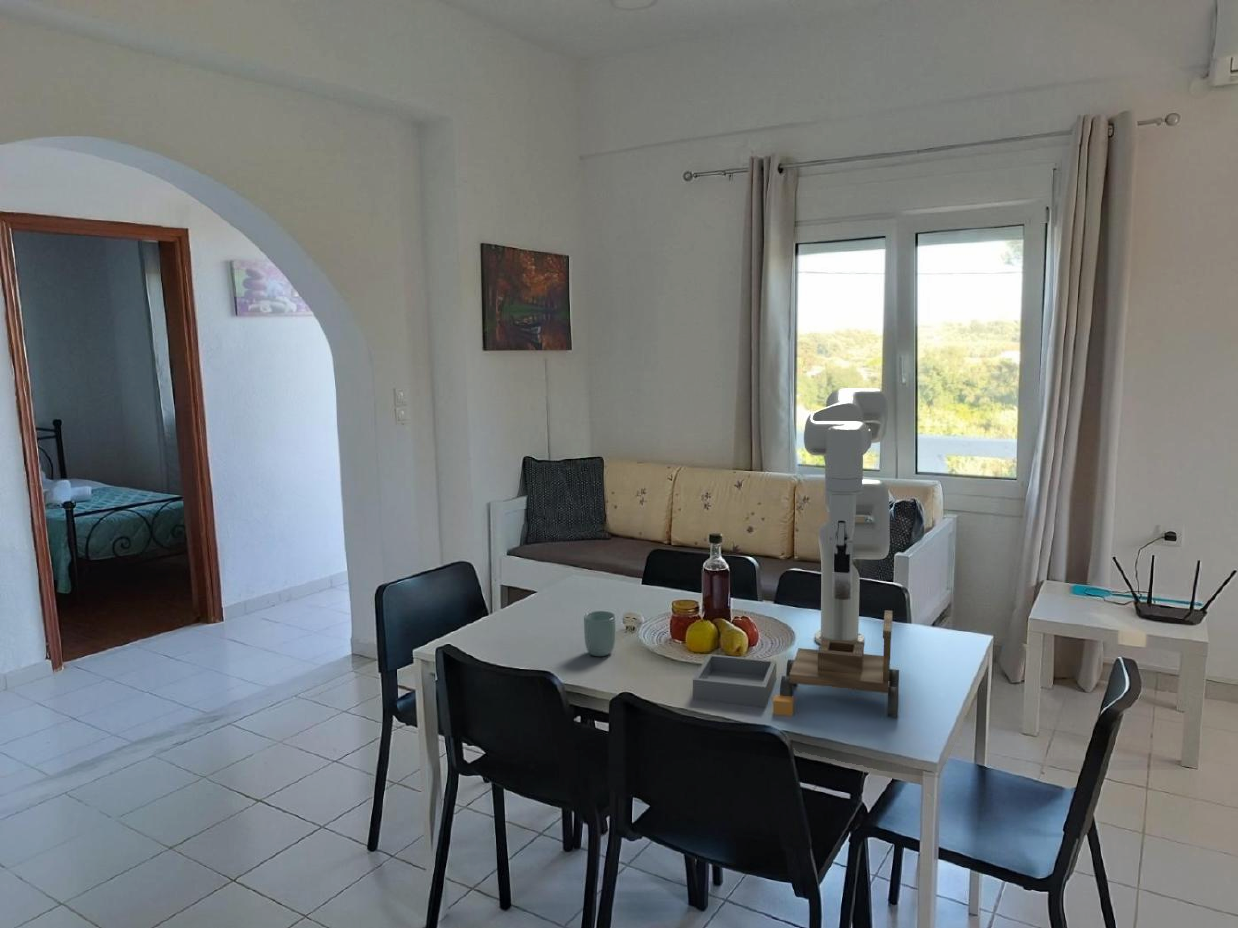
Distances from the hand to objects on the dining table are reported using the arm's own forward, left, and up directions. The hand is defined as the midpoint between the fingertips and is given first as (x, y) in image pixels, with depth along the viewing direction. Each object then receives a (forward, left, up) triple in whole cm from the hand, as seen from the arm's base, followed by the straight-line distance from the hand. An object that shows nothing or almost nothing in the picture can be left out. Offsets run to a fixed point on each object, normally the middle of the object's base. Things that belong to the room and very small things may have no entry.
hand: (842, 568), depth 187 cm
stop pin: (0, 0, -6) cm, 6 cm away
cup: (-13, -60, -30) cm, 68 cm away
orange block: (+10, -11, -29) cm, 33 cm away
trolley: (0, 0, -29) cm, 29 cm away
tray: (0, -23, -29) cm, 37 cm away
